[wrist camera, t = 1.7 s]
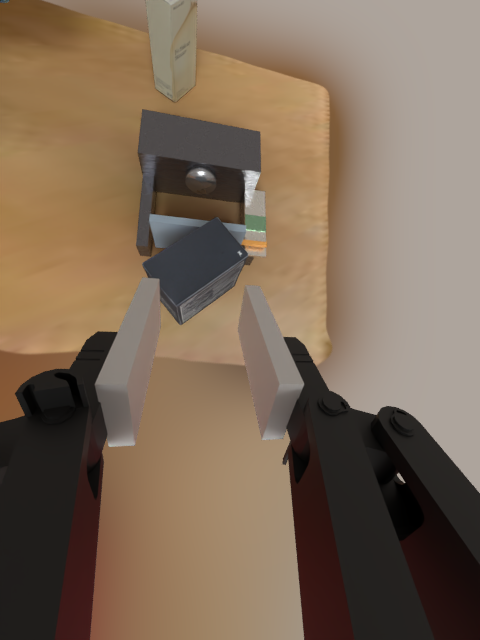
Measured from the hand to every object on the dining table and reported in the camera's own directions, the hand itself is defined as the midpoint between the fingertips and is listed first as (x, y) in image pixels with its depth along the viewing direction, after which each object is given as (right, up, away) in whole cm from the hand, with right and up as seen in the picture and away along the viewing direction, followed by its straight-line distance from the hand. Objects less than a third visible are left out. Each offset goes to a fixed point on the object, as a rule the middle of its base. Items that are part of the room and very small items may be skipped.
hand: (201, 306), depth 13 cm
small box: (-5, +4, +25) cm, 26 cm away
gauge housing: (-5, +17, +28) cm, 33 cm away
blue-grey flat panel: (-3, +10, +26) cm, 28 cm away
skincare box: (-9, +40, +32) cm, 53 cm away
